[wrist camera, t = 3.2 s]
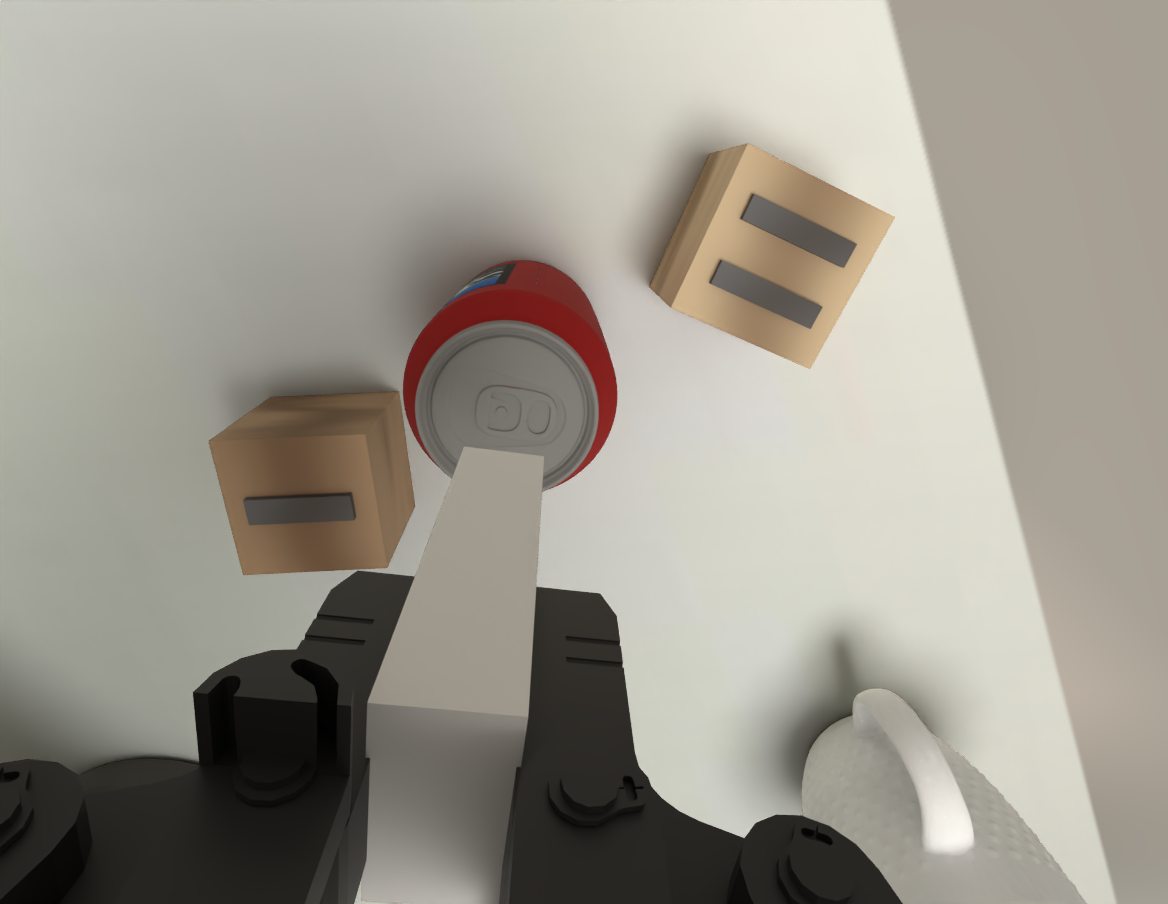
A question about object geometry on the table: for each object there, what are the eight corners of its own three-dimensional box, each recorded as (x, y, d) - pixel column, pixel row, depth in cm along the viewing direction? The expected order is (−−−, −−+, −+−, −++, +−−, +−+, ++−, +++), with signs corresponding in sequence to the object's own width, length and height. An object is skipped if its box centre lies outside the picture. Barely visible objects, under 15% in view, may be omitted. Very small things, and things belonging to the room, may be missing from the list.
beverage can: (458, 246, 29) (396, 277, 17) (609, 271, 29) (643, 317, 18) (444, 393, 31) (382, 504, 20) (585, 413, 32) (601, 531, 20)
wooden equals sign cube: (648, 286, 30) (672, 309, 24) (709, 153, 28) (750, 142, 22) (763, 337, 31) (812, 371, 25) (828, 213, 29) (898, 217, 23)
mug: (748, 655, 37) (841, 876, 25) (939, 608, 37) (1130, 812, 25) (786, 833, 43) (879, 1087, 31) (954, 795, 42) (1116, 1038, 30)
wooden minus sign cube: (295, 510, 33) (239, 578, 27) (271, 396, 31) (204, 443, 25) (415, 505, 33) (385, 571, 27) (399, 390, 31) (363, 436, 25)
